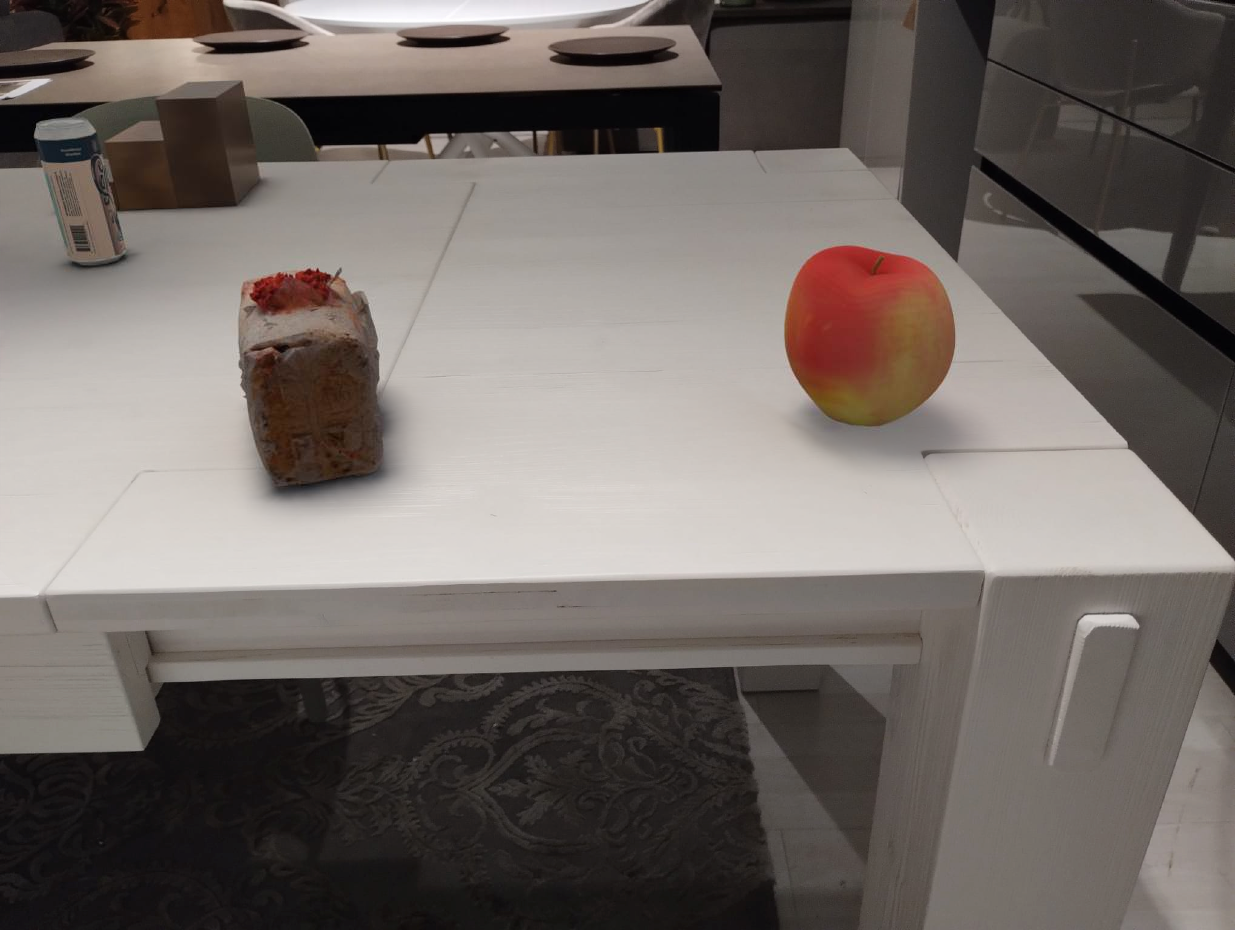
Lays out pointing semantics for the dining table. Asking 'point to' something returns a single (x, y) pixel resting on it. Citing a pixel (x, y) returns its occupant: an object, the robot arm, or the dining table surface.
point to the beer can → (80, 190)
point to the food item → (310, 376)
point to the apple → (868, 334)
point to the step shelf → (186, 151)
